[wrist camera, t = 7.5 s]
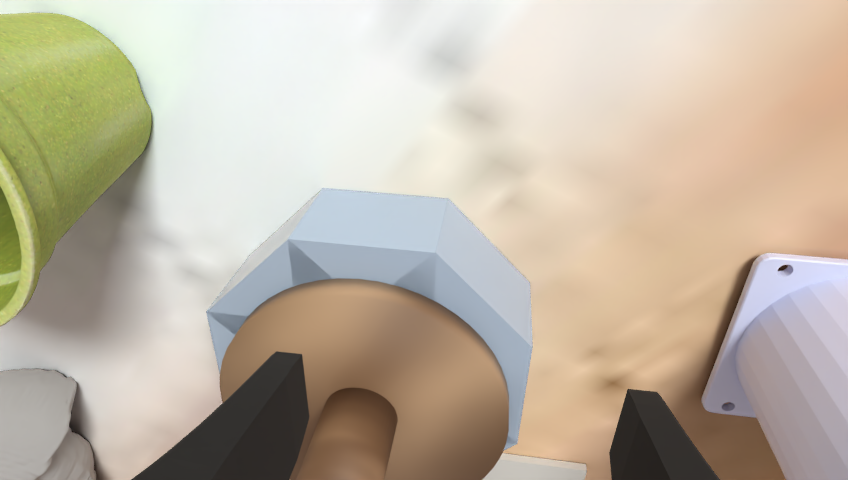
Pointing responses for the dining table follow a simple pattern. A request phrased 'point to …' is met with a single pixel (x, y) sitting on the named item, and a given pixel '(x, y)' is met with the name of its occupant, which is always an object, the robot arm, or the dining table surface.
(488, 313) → the bowl
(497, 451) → the lid
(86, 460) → the grey clay mound
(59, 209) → the plant pot
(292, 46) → the dining table surface
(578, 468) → the mat
